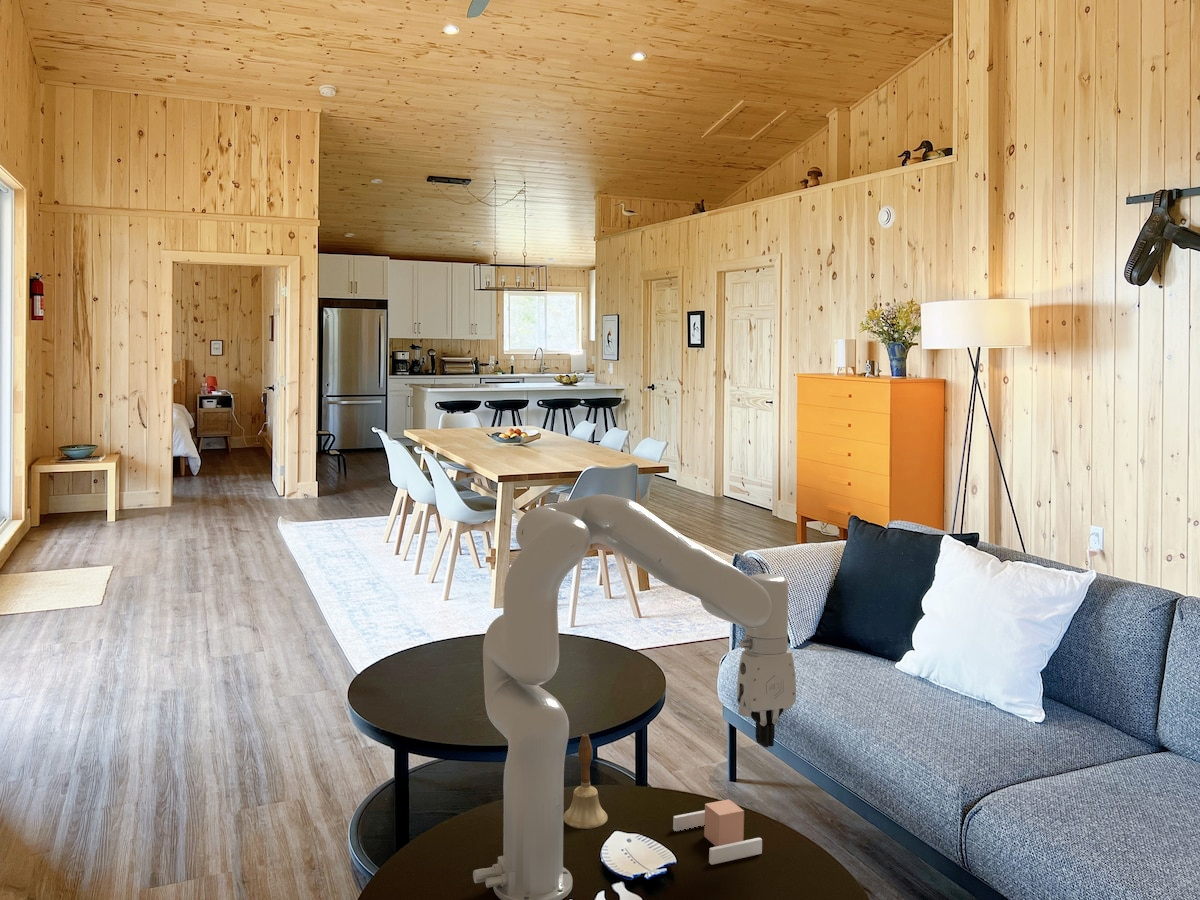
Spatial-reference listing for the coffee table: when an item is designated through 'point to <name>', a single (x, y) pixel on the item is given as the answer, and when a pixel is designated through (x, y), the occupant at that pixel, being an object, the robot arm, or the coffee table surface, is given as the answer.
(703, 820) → the channel
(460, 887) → the coffee table surface
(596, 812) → the hand bell
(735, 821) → the block
